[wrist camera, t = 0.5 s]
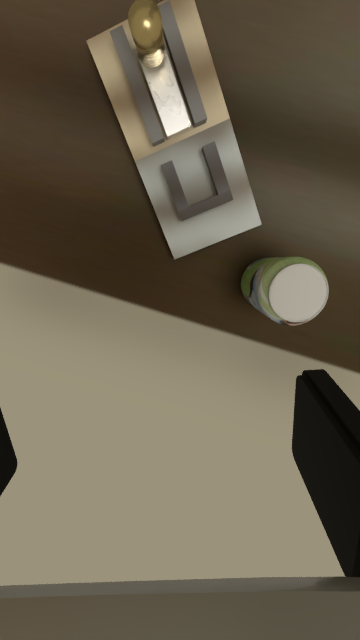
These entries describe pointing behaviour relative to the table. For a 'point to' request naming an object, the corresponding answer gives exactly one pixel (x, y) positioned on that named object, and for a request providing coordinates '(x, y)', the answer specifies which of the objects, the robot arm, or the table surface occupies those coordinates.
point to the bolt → (157, 66)
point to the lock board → (187, 148)
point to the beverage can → (285, 288)
